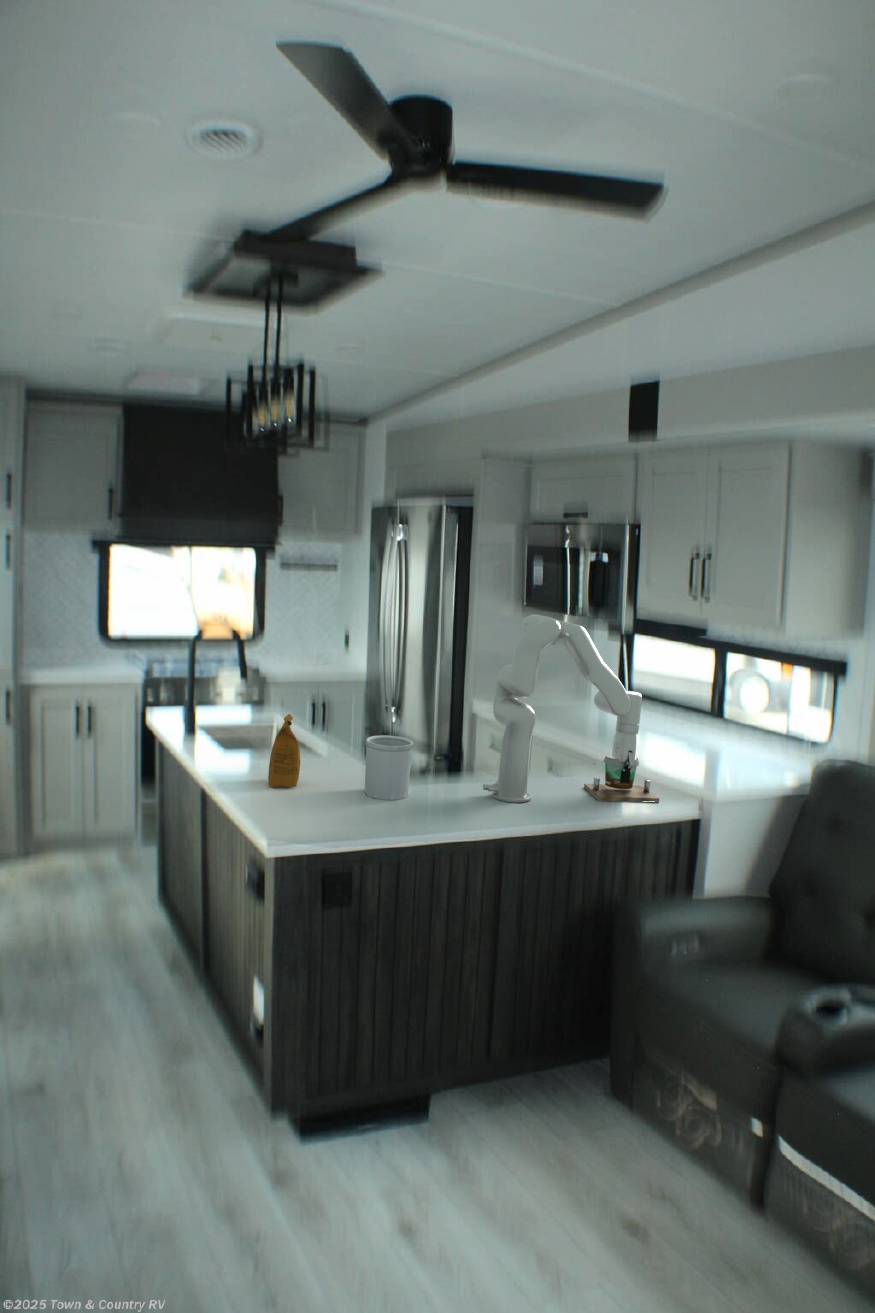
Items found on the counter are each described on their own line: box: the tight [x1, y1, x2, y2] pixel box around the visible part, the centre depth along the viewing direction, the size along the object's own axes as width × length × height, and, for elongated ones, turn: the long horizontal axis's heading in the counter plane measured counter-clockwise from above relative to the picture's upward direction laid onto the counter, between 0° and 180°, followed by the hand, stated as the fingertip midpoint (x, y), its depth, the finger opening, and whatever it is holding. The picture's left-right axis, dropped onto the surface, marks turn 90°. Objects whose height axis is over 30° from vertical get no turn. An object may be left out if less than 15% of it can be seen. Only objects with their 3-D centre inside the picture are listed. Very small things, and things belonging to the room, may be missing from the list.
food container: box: [603, 755, 640, 789], centre depth 336 cm, size 12×6×10 cm, turn 99°
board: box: [583, 777, 660, 803], centre depth 337 cm, size 21×16×6 cm
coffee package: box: [267, 713, 301, 789], centre depth 316 cm, size 10×12×22 cm
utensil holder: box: [364, 734, 414, 801], centre depth 314 cm, size 15×15×18 cm
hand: (621, 780), depth 337 cm, fingers closed on food container, 5 cm apart
